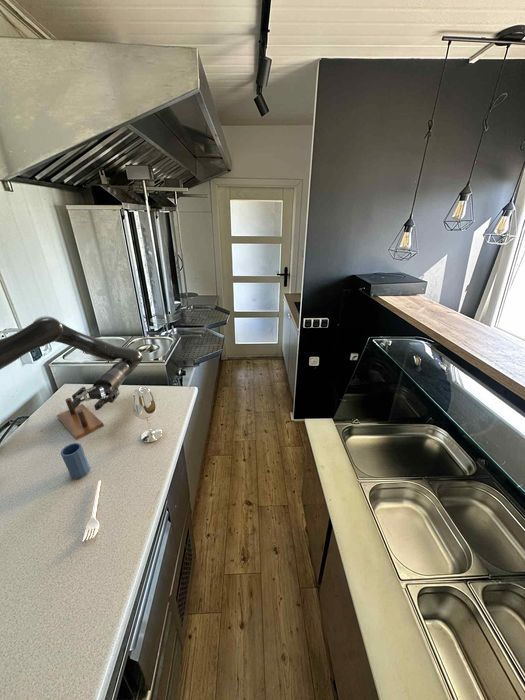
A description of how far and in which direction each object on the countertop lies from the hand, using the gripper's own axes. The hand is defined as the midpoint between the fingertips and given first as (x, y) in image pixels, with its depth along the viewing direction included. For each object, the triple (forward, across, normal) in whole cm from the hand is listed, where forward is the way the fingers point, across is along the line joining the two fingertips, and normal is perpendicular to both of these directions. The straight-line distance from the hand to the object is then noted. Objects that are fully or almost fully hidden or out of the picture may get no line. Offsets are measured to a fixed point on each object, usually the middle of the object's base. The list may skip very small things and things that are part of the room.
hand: (83, 407), depth 95 cm
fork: (+23, +13, +18) cm, 32 cm away
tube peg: (+10, 0, +18) cm, 21 cm away
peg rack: (-14, -16, +18) cm, 28 cm away
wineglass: (-7, +16, +18) cm, 26 cm away
